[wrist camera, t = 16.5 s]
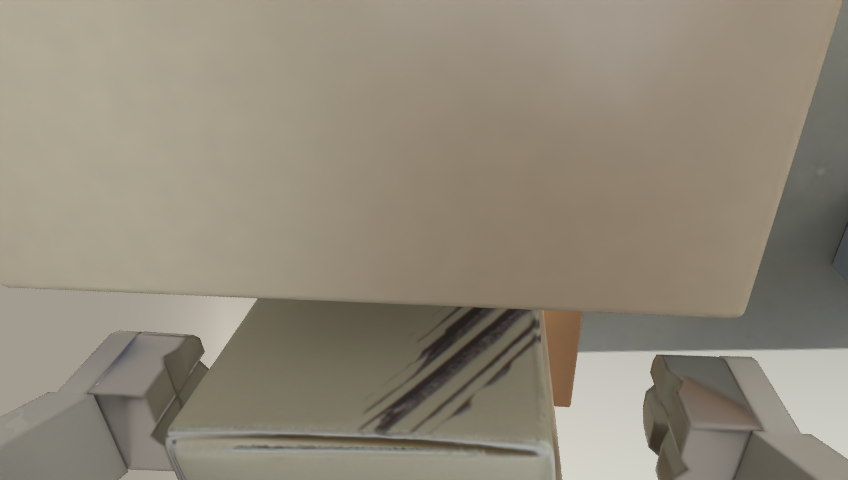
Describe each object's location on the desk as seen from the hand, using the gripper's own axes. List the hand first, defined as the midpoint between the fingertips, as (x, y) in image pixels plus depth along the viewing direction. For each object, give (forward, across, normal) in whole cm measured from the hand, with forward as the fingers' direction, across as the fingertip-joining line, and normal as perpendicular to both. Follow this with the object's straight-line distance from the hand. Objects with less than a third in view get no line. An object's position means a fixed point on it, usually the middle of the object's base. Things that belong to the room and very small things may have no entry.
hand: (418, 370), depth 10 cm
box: (+9, 0, 0) cm, 9 cm away
